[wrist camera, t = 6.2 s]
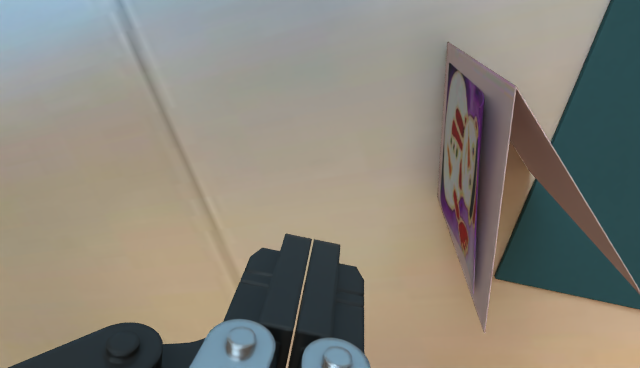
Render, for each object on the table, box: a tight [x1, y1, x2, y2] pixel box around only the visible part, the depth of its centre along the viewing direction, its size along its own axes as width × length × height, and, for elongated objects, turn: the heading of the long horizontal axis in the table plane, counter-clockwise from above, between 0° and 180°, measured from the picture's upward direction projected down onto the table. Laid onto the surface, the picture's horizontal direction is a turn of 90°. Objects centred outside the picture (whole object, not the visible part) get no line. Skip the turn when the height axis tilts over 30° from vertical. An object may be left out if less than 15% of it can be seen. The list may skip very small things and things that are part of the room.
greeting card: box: [437, 42, 640, 333], centre depth 25 cm, size 11×7×15 cm, turn 2°
